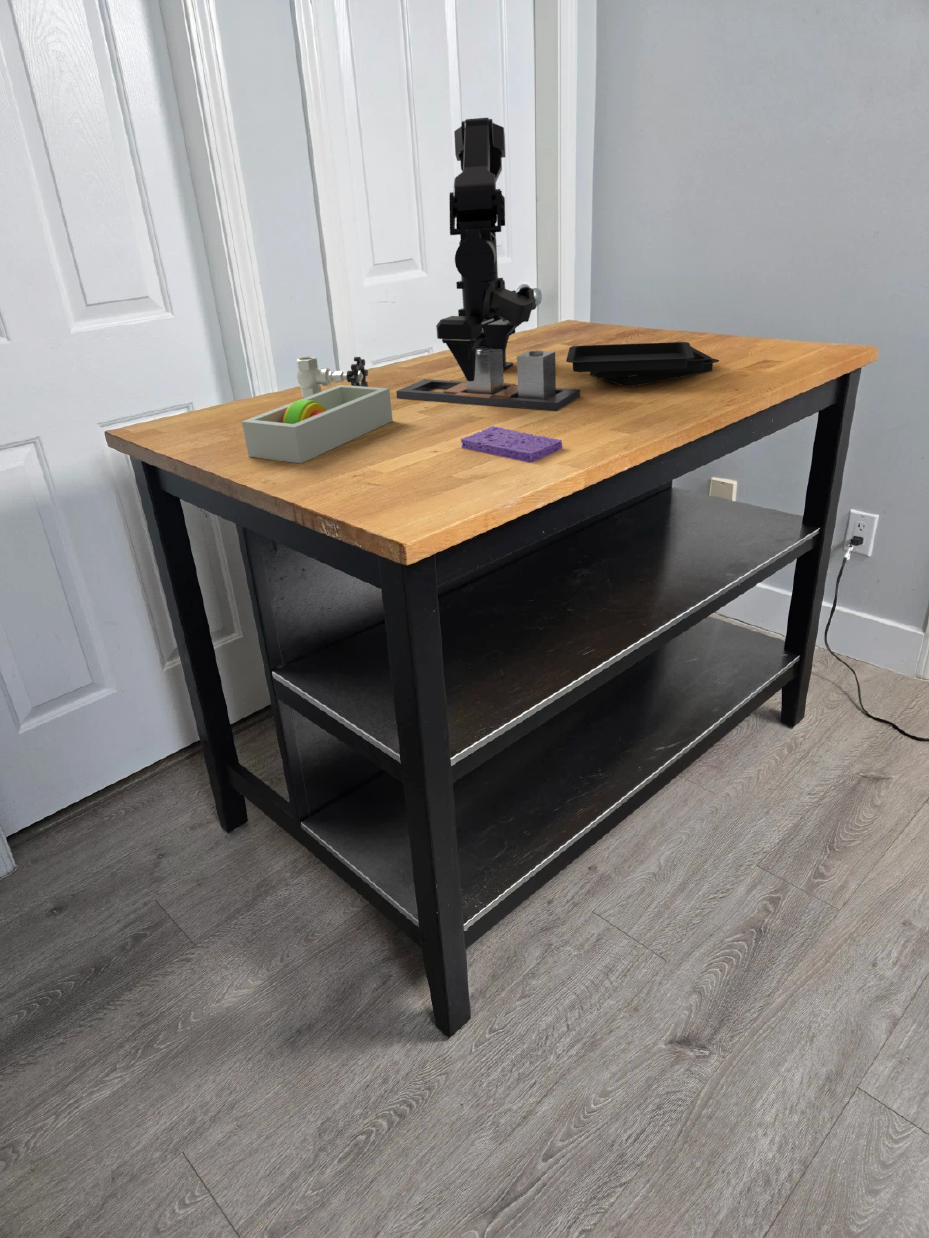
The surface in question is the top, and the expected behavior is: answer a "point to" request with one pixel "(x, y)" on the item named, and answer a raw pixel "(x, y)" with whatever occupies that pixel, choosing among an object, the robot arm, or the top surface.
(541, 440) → the sponges
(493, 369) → the knobbed block
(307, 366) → the valve
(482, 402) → the rail
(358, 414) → the box
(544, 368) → the grey metal block
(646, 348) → the tray
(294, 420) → the green arched piece
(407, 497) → the top surface
